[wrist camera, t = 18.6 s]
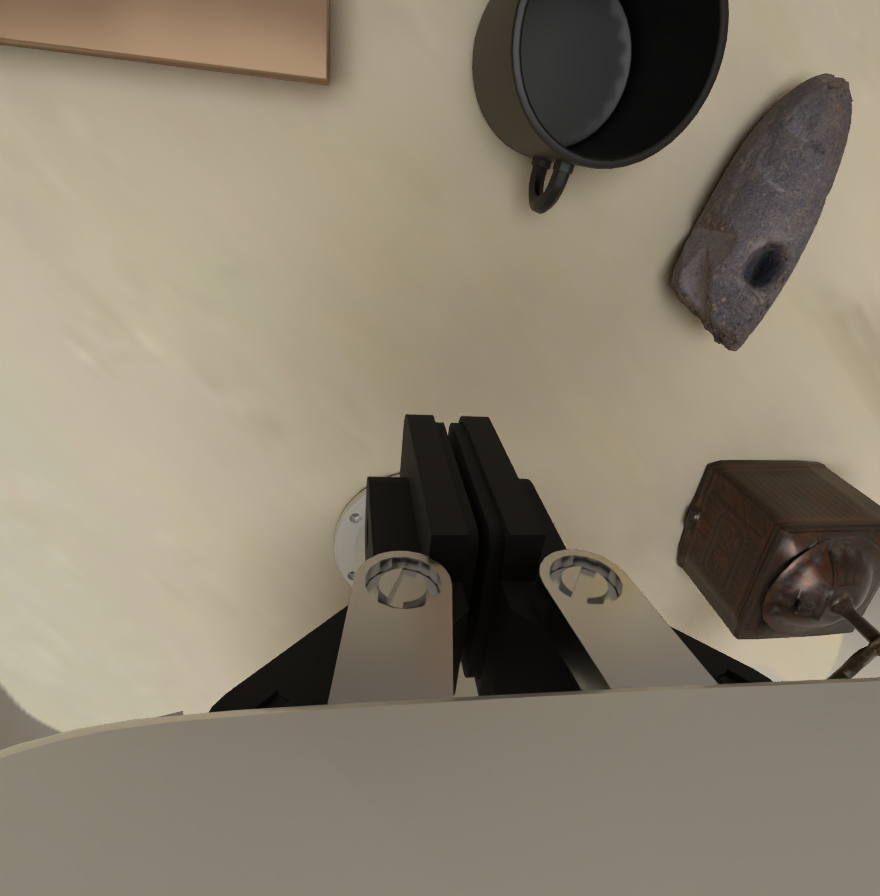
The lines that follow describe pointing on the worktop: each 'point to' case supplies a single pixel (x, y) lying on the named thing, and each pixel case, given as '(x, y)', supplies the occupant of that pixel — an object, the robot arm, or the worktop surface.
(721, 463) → the manual coffee grinder
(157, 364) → the worktop surface
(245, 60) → the walnut block
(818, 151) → the perforated stone tool
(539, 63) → the mug
